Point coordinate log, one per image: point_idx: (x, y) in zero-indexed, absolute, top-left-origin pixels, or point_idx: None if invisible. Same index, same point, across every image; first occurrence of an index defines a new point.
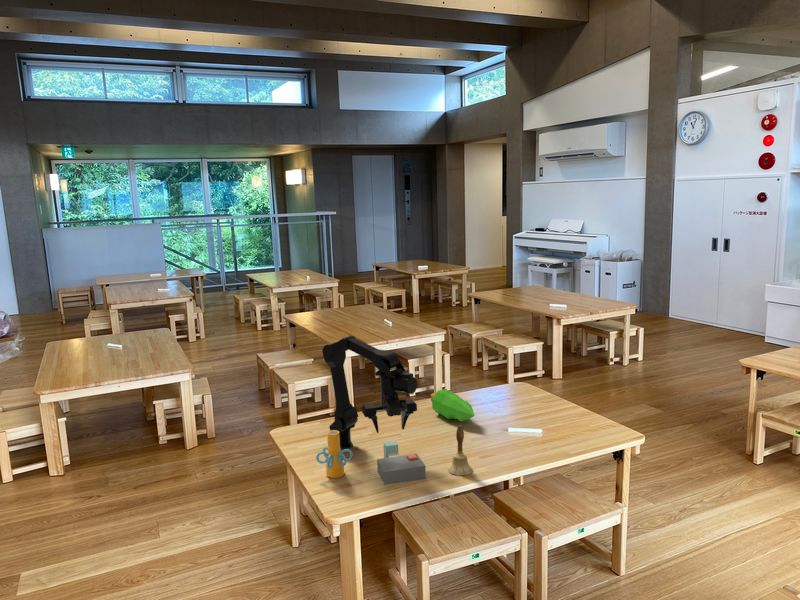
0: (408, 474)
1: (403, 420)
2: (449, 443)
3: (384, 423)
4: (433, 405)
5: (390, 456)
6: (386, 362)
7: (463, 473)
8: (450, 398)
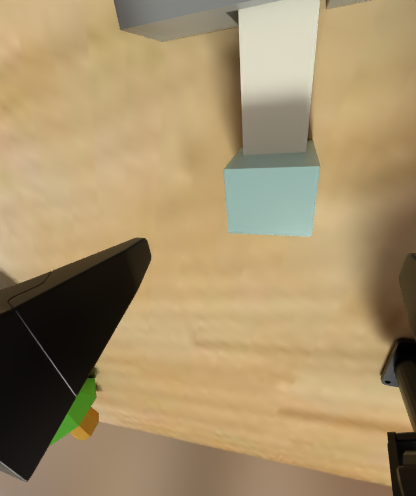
0: None
1: (73, 288)
2: (47, 232)
3: (226, 403)
4: (87, 404)
5: (304, 95)
6: None
7: None
8: None
